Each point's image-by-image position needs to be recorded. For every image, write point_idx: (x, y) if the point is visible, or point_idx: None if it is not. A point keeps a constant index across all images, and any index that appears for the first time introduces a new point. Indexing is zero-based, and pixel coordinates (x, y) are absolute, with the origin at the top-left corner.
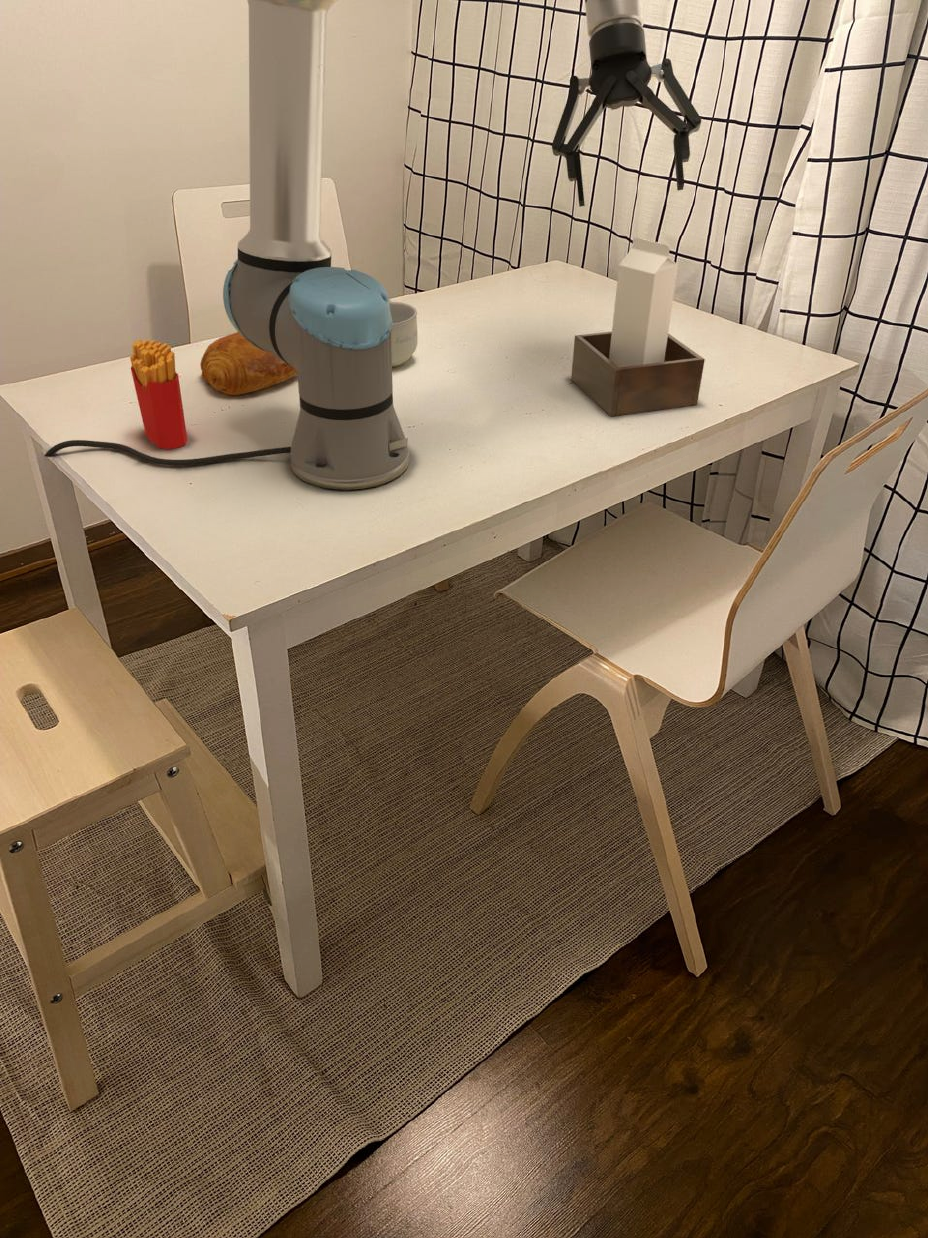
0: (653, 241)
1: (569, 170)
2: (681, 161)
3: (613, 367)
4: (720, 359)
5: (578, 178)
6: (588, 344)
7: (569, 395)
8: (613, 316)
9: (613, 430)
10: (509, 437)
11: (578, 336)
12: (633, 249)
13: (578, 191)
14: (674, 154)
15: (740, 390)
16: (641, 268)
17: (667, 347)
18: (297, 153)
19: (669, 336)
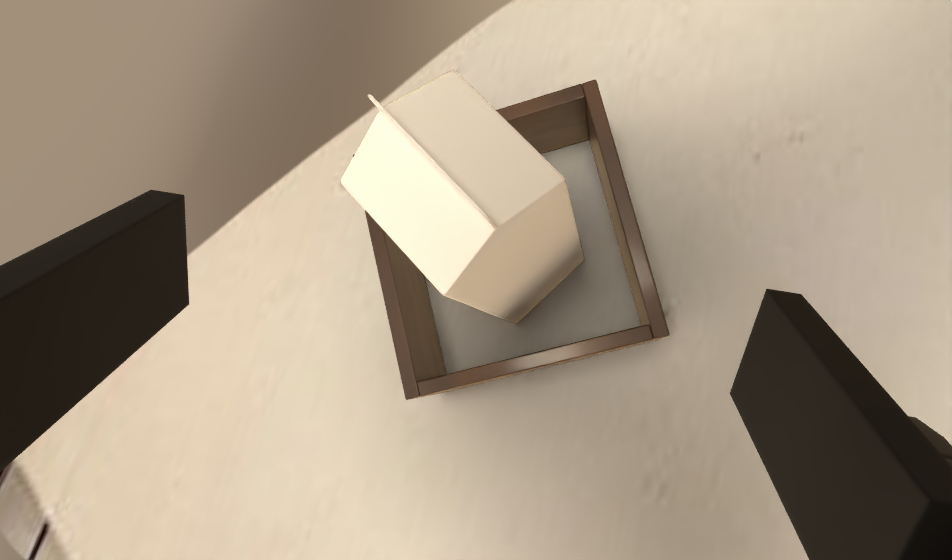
0: (418, 144)
1: (943, 454)
2: (72, 235)
3: (599, 96)
4: (260, 446)
5: (847, 364)
6: (639, 258)
7: (677, 242)
8: (575, 222)
9: (605, 57)
10: (855, 14)
11: (659, 324)
12: (494, 215)
13: (819, 320)
14: (54, 411)
15: (277, 261)
16: (490, 115)
17: (408, 310)
18: None
19: (396, 315)
